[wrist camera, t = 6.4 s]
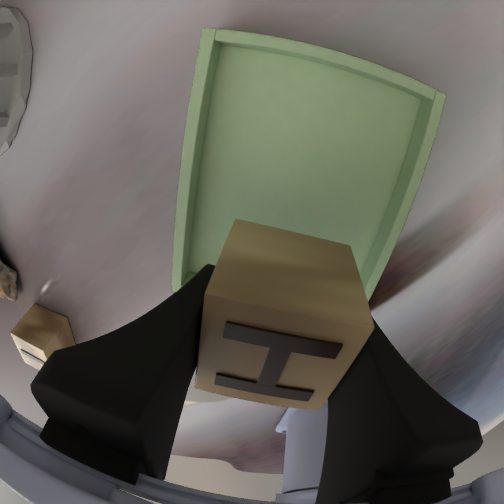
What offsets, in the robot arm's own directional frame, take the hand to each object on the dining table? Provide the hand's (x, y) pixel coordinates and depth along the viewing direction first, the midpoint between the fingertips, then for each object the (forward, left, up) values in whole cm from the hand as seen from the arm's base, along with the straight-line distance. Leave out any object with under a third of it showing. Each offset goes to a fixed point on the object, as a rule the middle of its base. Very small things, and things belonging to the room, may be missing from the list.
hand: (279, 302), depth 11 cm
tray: (0, -2, -6) cm, 7 cm away
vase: (+25, -7, -7) cm, 27 cm away
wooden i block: (+19, +16, -6) cm, 25 cm away
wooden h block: (0, 0, -1) cm, 1 cm away
